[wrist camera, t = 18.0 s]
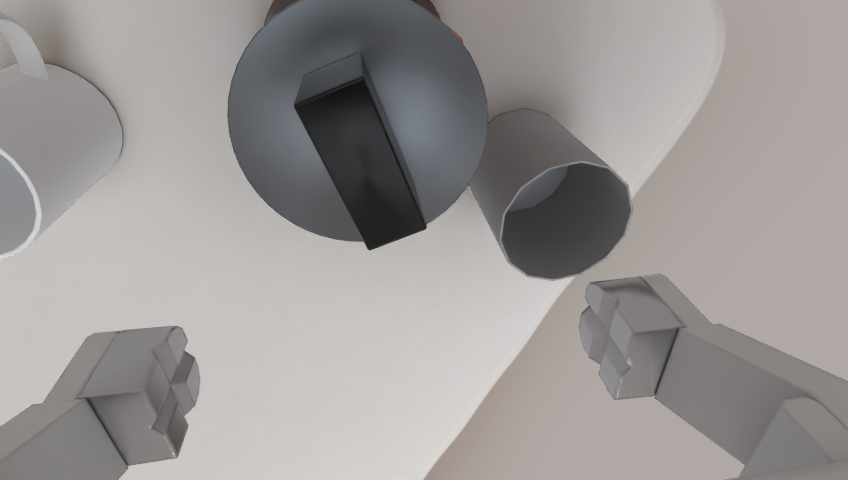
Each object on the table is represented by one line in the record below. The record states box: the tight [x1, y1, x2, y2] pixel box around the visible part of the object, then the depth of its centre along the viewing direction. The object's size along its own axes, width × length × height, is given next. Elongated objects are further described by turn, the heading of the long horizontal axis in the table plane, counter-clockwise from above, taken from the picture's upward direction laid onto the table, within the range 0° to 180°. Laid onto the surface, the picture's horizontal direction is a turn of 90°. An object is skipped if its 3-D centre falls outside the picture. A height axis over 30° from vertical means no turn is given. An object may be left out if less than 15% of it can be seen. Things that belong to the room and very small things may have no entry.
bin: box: [228, 0, 488, 250], centre depth 23 cm, size 11×11×17 cm
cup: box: [469, 108, 633, 281], centre depth 33 cm, size 8×8×10 cm
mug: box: [0, 12, 123, 259], centre depth 26 cm, size 12×8×10 cm, turn 158°
